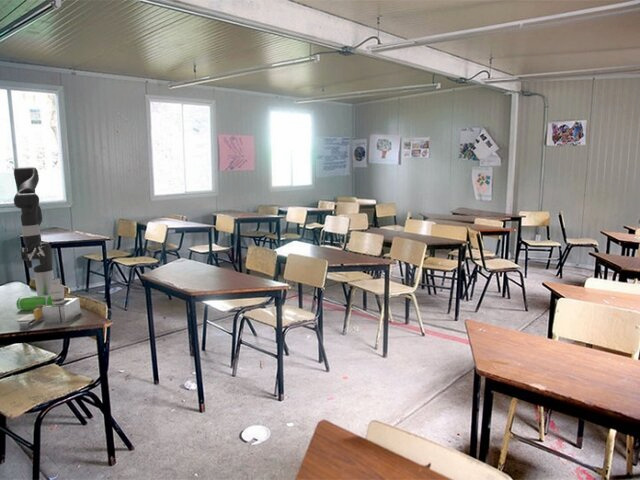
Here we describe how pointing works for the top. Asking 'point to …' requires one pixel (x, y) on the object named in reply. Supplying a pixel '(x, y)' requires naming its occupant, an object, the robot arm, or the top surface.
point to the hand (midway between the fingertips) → (36, 265)
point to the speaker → (33, 302)
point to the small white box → (56, 313)
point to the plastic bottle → (57, 292)
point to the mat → (26, 318)
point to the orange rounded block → (38, 312)
